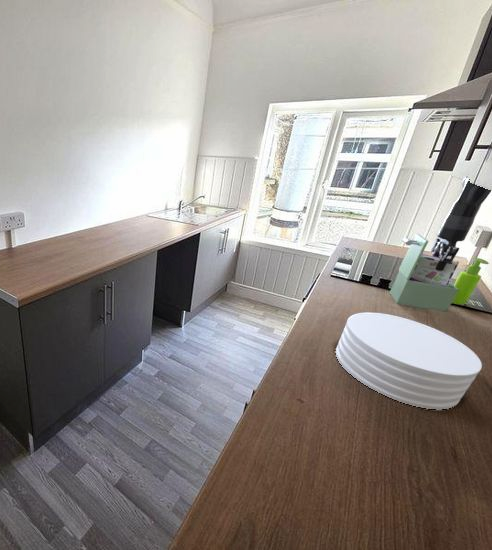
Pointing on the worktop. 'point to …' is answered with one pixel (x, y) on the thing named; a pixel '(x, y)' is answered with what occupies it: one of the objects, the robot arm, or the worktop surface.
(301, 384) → the worktop surface
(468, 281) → the soap dispenser
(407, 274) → the lid
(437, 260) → the candy bar box
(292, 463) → the worktop surface
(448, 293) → the chest
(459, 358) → the plate stack
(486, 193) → the robot arm
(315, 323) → the worktop surface
